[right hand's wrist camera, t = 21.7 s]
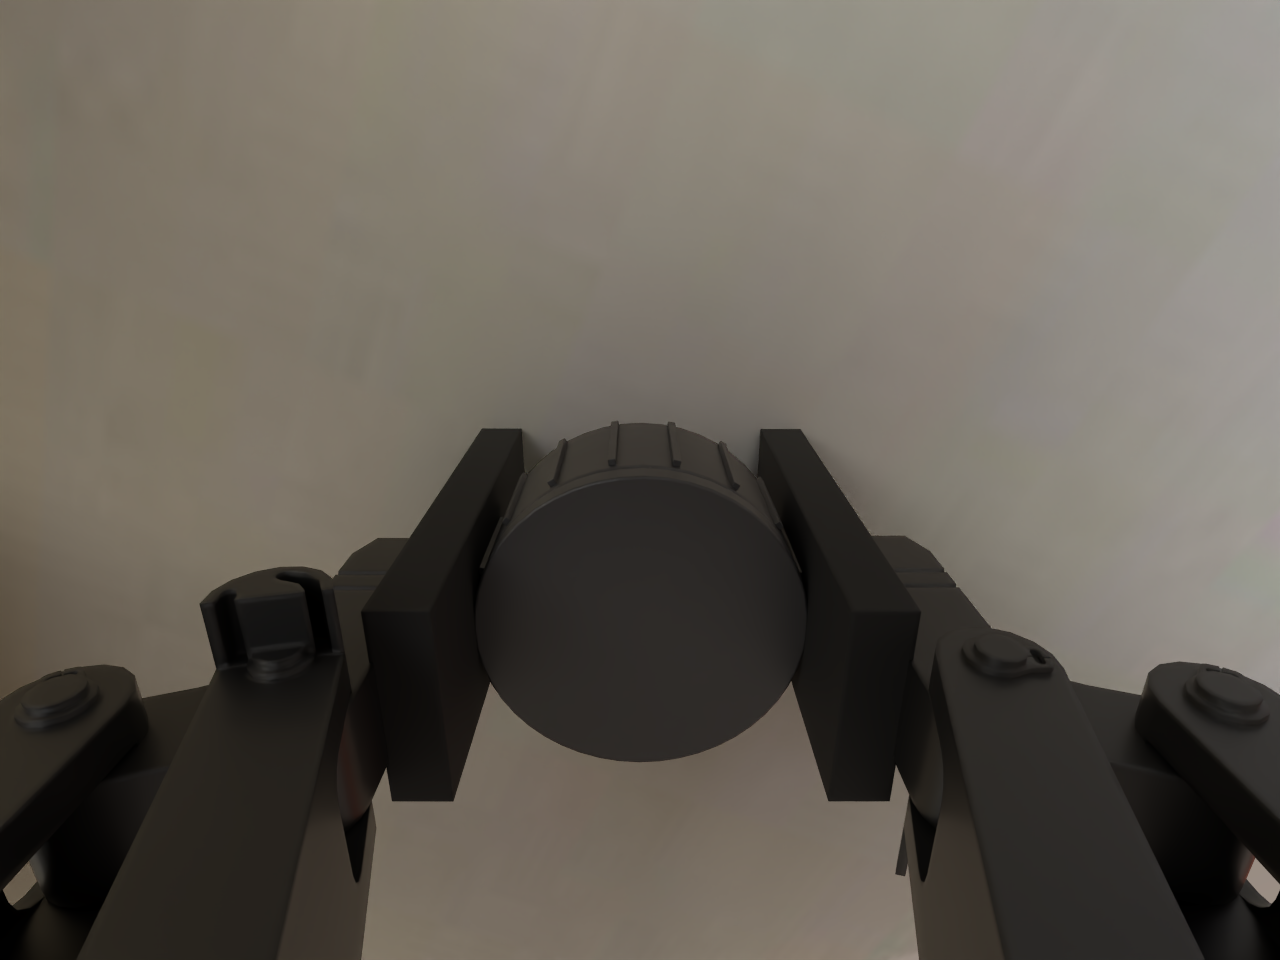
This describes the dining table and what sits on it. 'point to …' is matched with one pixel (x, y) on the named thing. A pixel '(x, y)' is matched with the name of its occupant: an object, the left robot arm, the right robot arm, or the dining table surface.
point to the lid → (640, 596)
